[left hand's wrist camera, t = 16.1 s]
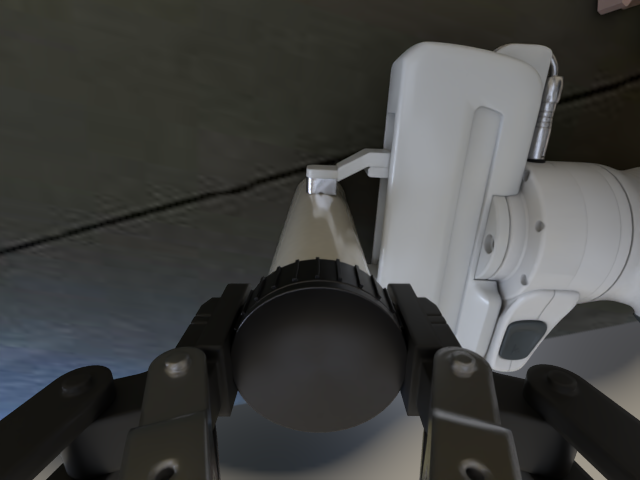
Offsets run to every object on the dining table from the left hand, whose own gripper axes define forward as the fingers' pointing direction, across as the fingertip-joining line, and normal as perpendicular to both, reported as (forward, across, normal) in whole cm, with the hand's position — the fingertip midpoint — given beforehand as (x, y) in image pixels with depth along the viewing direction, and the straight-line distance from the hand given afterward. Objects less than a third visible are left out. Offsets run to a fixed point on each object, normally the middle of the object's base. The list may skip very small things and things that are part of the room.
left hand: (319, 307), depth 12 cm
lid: (-3, 0, 0) cm, 3 cm away
